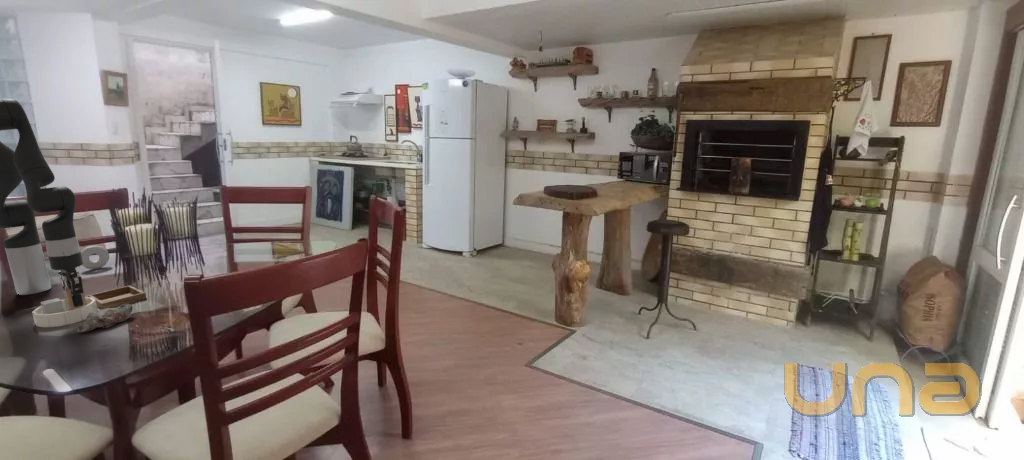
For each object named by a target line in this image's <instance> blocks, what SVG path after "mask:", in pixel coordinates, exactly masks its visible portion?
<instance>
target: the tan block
mask: <svg viewBox="0 0 1024 460" xmlns="http://www.w3.org/2000/svg"><path fill="white" fill-rule="evenodd" d="M77 290H78V288H76V289H75V291H77ZM62 293H63V295H64V296H63V297H64V300H65V301H66V306H67V308H68V309H70V310H74V309H78V308H80V307H83V306H85V305H87V303H86V299H85V297H86V295H85V291H84V289H83V293H82V294H81V296H82V300H83V305H82V306H79V307H75V306H74V305H73V300H72V296H71V295H70V294H71V293H70V290H69V289H62Z"/></svg>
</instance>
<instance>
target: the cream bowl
mask: <svg viewBox="0 0 1024 460" xmlns="http://www.w3.org/2000/svg"><path fill="white" fill-rule="evenodd" d="M85 299H86V303H87V305H85V306H83V307H80V308H78V309H74V310H70V309H68V308H67V306H66V301H65V299H60V300H61V301H62V305H63V309H64V312H61V313H54V314H43V310H42V306H41V305H40V306H38V307H36V308H35V309H33V311H31V314H32V317H33V318H32V319H33V321H34V324H35V325H36V327H39V328H55V327H62V326H68V325H71V324H76V323H79V322H81V321H85V319H87V316H88V314H89V313H92V312H93V313H95V312H97V311H99V309H98V308H99V307H97V304H96V300H95V299H93V298H91V297H88V296H87V297H86V296H85Z"/></svg>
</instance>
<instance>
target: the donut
mask: <svg viewBox="0 0 1024 460" xmlns="http://www.w3.org/2000/svg"><path fill="white" fill-rule="evenodd" d="M80 251H81V256H82V260H83V264H82V265H81V266H82V267H83V268H85V269H86V270H87V269H88V270H98V269H101V268H103V267H104V266H106V265H107V264H108V262H109V260H110V253H109V251H108V250H107V249H106V248H105V247H104V246H101V245H89V246H86V247H84V248H83V249H81V250H80ZM93 254H97V255H98V259H97V260H94V261H93V260H91V259H90V256H91V255H93Z"/></svg>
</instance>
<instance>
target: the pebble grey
mask: <svg viewBox="0 0 1024 460" xmlns="http://www.w3.org/2000/svg"><path fill="white" fill-rule="evenodd" d="M61 300H62V299H60V298H58V297H57V298H53V299H52V298H51V299H47V300H44V301H40V307H41V306H42V310H43V314H54V313H61V312H64V309H63V305H62V301H61Z"/></svg>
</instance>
